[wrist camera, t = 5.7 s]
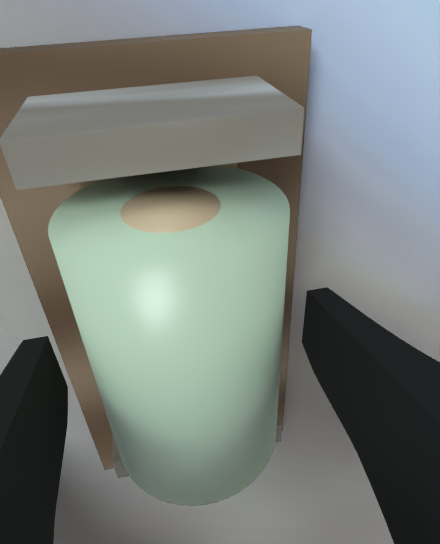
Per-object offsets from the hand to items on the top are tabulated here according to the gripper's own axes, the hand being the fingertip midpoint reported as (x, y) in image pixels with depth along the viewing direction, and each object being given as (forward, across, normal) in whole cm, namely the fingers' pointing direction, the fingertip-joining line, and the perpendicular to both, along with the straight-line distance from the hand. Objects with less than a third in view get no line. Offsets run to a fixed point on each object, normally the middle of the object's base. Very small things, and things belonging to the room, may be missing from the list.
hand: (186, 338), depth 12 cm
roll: (+2, 0, 0) cm, 2 cm away
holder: (+4, 0, +2) cm, 5 cm away
